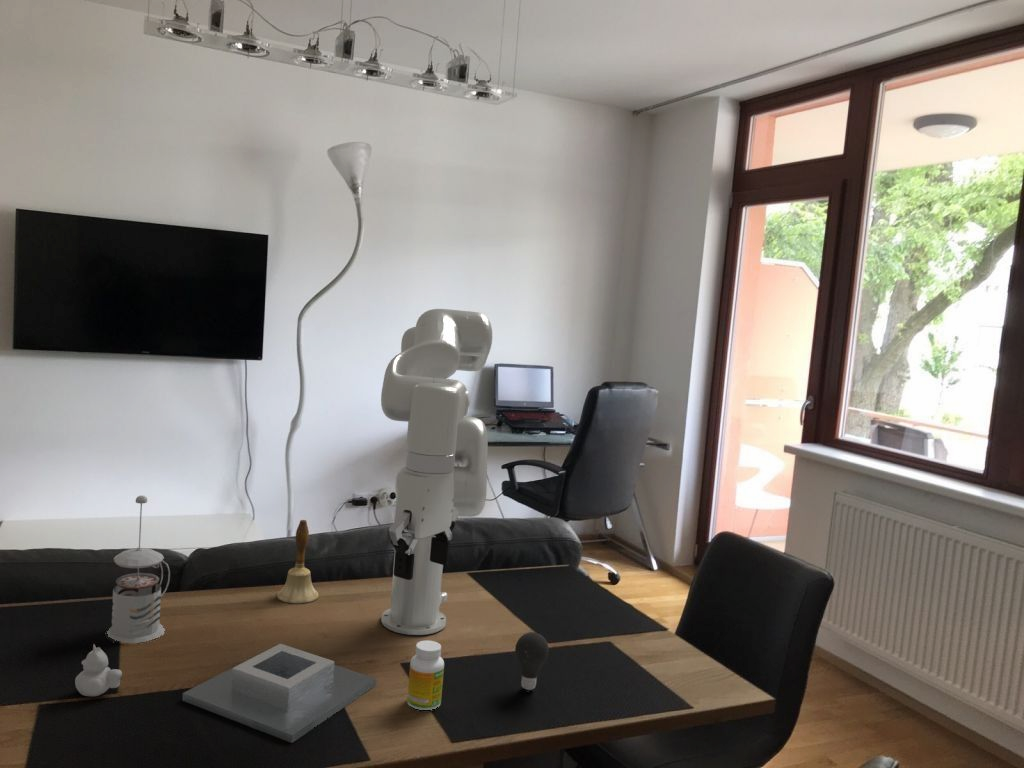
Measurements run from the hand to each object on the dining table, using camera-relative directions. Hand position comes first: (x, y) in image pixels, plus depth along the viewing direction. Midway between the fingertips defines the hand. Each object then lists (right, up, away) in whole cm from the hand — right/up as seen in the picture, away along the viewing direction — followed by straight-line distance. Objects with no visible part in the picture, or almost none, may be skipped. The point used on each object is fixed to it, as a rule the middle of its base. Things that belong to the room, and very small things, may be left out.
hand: (421, 570), depth 133 cm
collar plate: (-22, -20, +1) cm, 30 cm away
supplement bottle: (0, -22, +2) cm, 22 cm away
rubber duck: (-49, -18, -4) cm, 52 cm away
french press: (-52, -15, +18) cm, 58 cm away
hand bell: (-30, -15, +41) cm, 53 cm away
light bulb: (+17, -23, +10) cm, 30 cm away
